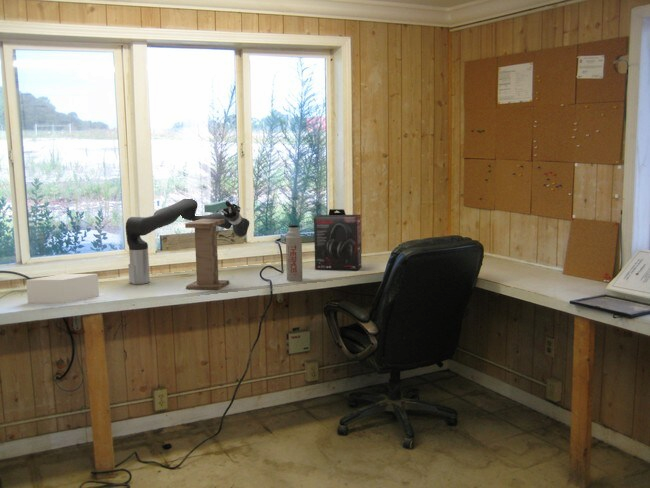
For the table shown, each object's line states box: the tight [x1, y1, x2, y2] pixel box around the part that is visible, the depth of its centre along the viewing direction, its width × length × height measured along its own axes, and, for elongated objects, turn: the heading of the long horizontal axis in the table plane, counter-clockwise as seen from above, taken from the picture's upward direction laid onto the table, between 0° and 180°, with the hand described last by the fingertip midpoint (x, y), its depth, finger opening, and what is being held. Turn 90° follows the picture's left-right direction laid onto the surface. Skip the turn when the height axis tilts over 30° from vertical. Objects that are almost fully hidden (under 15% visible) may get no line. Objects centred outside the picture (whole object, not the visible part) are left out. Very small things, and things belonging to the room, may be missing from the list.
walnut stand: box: [184, 219, 230, 291], centre depth 319 cm, size 20×16×32 cm
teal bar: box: [204, 200, 230, 213], centre depth 332 cm, size 26×4×4 cm, turn 168°
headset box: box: [313, 208, 362, 271], centre depth 361 cm, size 24×13×33 cm, turn 77°
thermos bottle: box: [285, 224, 303, 282], centre depth 331 cm, size 8×8×28 cm
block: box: [25, 273, 100, 304], centre depth 296 cm, size 15×30×11 cm, turn 114°
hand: (222, 202), depth 339 cm, fingers closed on teal bar, 3 cm apart
